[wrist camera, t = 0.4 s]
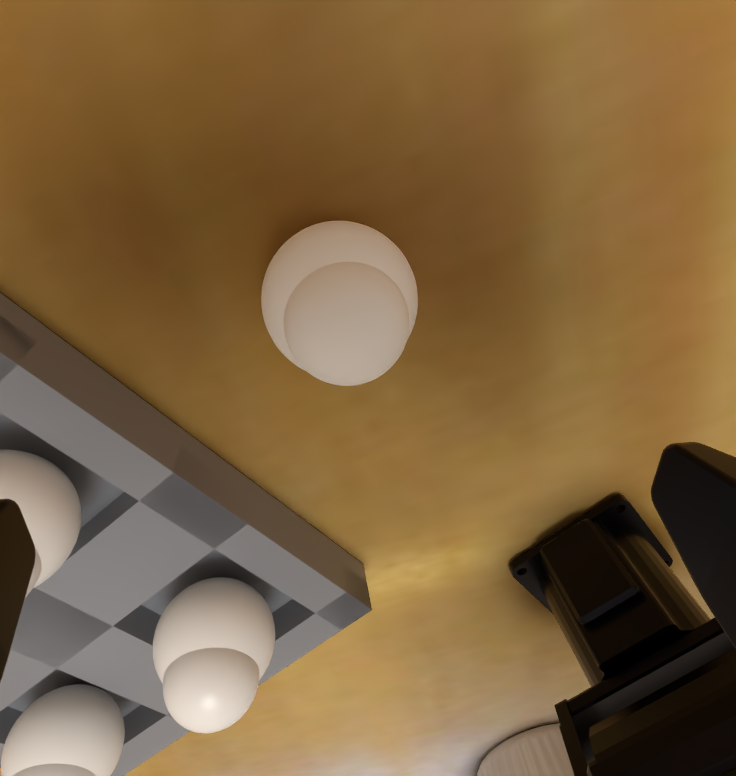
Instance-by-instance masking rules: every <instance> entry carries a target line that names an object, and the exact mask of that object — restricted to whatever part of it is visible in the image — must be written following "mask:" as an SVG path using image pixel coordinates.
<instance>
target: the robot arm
mask: <svg viewBox="0 0 736 776" xmlns="http://www.w3.org/2000/svg"><path fill="white" fill-rule="evenodd" d="M651 497H652V501H653V504H654V506H655V508H656V510H657V512H658V514H659V516H660V518H661V520H662V522H663V524H664V525H665V527H666V529H667V531H668V533H669V535H670V537H671V539H672V541H673V543H674V545H675V547H676V549H677V550H678V552H679V554H680V556H681V558H682V560H683V562H684V564H685V566H686V568H687V570H688V572H689V573H690V575H691V577H692V579H693V581H694V583H695V585H696V586H697V588H698V590H699V592H700V594H701V596H702V597H703V599H704V600H705V602H706V604H707V605H708V607H709V608H710V610H711V612H712V613H713V615H714V616H715V618H713V619H710V618H709V617H708V616H707V614H706V613H705V612H704V611H703V609H702V608H701V607H700V606H699V604H698V603H697V602H696V601H695V599H694V598H693V597H692V596H691V594H690V593H689V592H688V590H687V589H686V588H685V587H684V585H683V584H682V583H681V582H680V580H679V579H678V578H677V577H676V575H675V574H674V573H673V572H672V570H671V569H670V568H669V567H670V566H671V564H672V562H673V560H672V558H671V557H670V556H669V554H668V553H667V552H666V550H665V549H664V548H663V546H662V545H661V544H660V542H659V541H658V540H657V538H656V537H655V536H654V534H653V533H652V532H651V530H650V529H649V528H648V526H647V525H646V524H645V522H644V521H643V520H642V518H641V517H640V516H639V514H638V513H637V512H636V510H635V509H634V508H633V506H632V505H631V504H630V502H629V501H628V500H627V499H626V497H624V496H623V495H615V496H613V497H611V498H610V499H608V500H607V501H605V502H604V503H602V504H600V505H599V506H597V507H596V508H594V509H593V510H591V511H590V512H588V513H587V514H585V515H583V516H582V517H580V518H579V519H577V520H576V521H574V522H573V523H571V524H569V525H568V526H566V527H565V528H563V529H562V530H560V531H559V532H557V533H556V534H554V535H552V536H551V537H549V538H548V539H546V540H545V541H543V542H542V543H540V544H538V545H537V546H535V547H534V548H532V549H531V550H529V551H528V552H526V553H525V554H523V555H521V556H520V557H518V558H517V559H515V560H514V561H513V562H511V564H510V565H509V569H510V571H511V573H512V575H513V577H514V578H515V579H516V580H517V581H518V582H519V583H520V584H522V585H523V586H524V587H525V588H526V589H527V590H528V591H529V592H530V593H531V594H532V595H533V596H535V597H536V598H537V599H538V600H539V601H540V602H541V603H542V604H543V605H544V606H545V607H546V608H548V609H549V610H550V611H551V612H552V613H553V614H554V615H555V617H556V619H557V621H558V623H559V625H560V627H561V629H562V631H563V633H564V635H565V637H566V639H567V640H568V642H569V644H570V646H571V648H572V650H573V652H574V654H575V656H576V658H577V660H578V662H579V664H580V666H581V667H582V669H583V671H584V673H585V675H586V677H587V679H588V681H589V683H590V685H591V688H589V689H587V690H585V691H584V692H582V693H580V694H578V695H577V696H575V697H573V698H571V699H570V700H567V699H564V700H563V701H561V702H559V703H557V704H556V705H555V709H556V712H557V715H558V718H559V721H560V724H561V725H559V728H560V732H561V735H562V738H563V741H564V744H565V747H566V751H567V754H568V757H569V760H570V763H571V766H572V770H573V773H574V776H736V457H733V456H731V455H728V454H726V453H723V452H721V451H718V450H716V449H713V448H711V447H708V446H706V445H703V444H701V443H697V442H686V443H674V444H670V445H668V446H667V447H666V448H665V449H664V450H663V453H662V455H661V458H660V462H659V465H658V468H657V471H656V474H655V477H654V480H653V483H652V487H651ZM35 557H36V554H35V546H34V542H33V540H32V537H31V535H30V532H29V530H28V527H27V525H26V522H25V520H24V517H23V515H22V512H21V510H20V508H19V506H18V504H17V503H16V502H15V501H13V500H11V499H0V682H1V680H2V677H3V674H4V670H5V667H6V664H7V661H8V657H9V654H10V650H11V647H12V643H13V639H14V636H15V632H16V629H17V625H18V622H19V618H20V614H21V611H22V607H23V604H24V600H25V596H26V593H27V589H28V586H29V582H30V578H31V575H32V571H33V568H34V564H35Z"/></svg>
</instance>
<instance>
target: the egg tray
mask: <svg viewBox="0 0 736 776" xmlns="http://www.w3.org/2000/svg"><path fill="white" fill-rule="evenodd" d="M0 499H11V500H13V501H15V502H16V503H17V504H18V506H19V508H20V510H21V512H22V515H23V517H24V520H25V522H26V525H27V527H28V530H29V532H30V535H31V537H32V540H33V542H34V546H35V554H36V557H35V564H34V568H33V571H32V575H31V578H30V582H29V586H28V589H27V593H26V596H25V600H24V604H23V607H22V611H21V614H20V618H19V622H18V625H17V629H16V632H15V636H14V639H13V643H12V647H11V650H10V654H9V657H8V661H7V664H6V667H5V670H4V674H3V677H2V680H1V682H0V768H1V775H2V776H123V775H125V774H126V773H128V772H129V771H131V770H132V769H134V768H135V767H137V766H138V765H140V764H141V763H143V762H144V761H146V760H147V759H149V758H150V757H152V756H153V755H155V754H156V753H158V752H159V751H161V750H162V749H164V748H165V747H167V746H168V745H170V744H171V743H173V742H174V741H176V740H177V739H179V738H180V737H182V736H183V735H185V734H186V733H188V732H189V731H193V732H197V733H213V732H217V731H220V730H223V729H225V728H227V727H229V726H231V725H232V724H234V723H235V722H236V721H238V720H239V719H240V718H241V717H242V716H243V715H244V714H245V712H246V711H247V710H248V708H249V707H250V705H251V703H252V702H253V700H254V698H255V695H256V692H257V689H258V685H260V684H261V683H263V682H264V681H266V680H267V679H269V678H270V677H272V676H273V675H275V674H276V673H278V672H279V671H281V670H282V669H284V668H285V667H287V666H288V665H290V664H291V663H293V662H294V661H296V660H297V659H299V658H300V657H302V656H303V655H305V654H306V653H308V652H309V651H311V650H312V649H314V648H315V647H317V646H318V645H320V644H321V643H323V642H324V641H326V640H327V639H329V638H330V637H332V636H333V635H335V634H336V633H338V632H339V631H341V630H342V629H344V628H345V627H347V626H348V625H350V624H351V623H353V622H354V621H356V620H357V619H359V618H360V617H362V616H363V615H365V614H366V613H368V612H369V611H371V610H372V608H371V603H370V597H369V592H368V587H367V582H366V576H365V571H364V566H363V564H362V563H361V562H359V561H358V560H357V559H355V558H354V557H353V556H351V555H350V554H349V553H347V552H346V551H345V550H343V549H342V548H341V547H339V546H338V545H337V544H335V543H334V542H333V541H331V540H330V539H329V538H327V537H326V536H325V535H323V534H322V533H321V532H319V531H318V530H317V529H315V528H314V527H313V526H311V525H310V524H309V523H307V522H306V521H305V520H303V519H302V518H301V517H299V516H298V515H297V514H295V513H294V512H293V511H291V510H290V509H289V508H287V507H286V506H285V505H283V504H282V503H281V502H279V501H278V500H277V499H275V498H274V497H273V496H271V495H270V494H269V493H267V492H266V491H265V490H263V489H262V488H261V487H259V486H258V485H257V484H255V483H254V482H253V481H251V480H250V479H249V478H247V477H246V476H245V475H243V474H242V473H241V472H239V471H238V470H237V469H235V468H234V467H232V466H231V465H230V464H228V463H227V462H226V461H224V460H223V459H222V458H220V457H219V456H218V455H216V454H215V453H214V452H212V451H211V450H210V449H208V448H207V447H206V446H204V445H203V444H202V443H200V442H199V441H198V440H196V439H195V438H194V437H192V436H191V435H190V434H188V433H187V432H186V431H184V430H183V429H182V428H180V427H179V426H178V425H176V424H175V423H174V422H172V421H171V420H170V419H168V418H167V417H166V416H164V415H163V414H162V413H160V412H159V411H158V410H156V409H155V408H154V407H152V406H151V405H150V404H148V403H147V402H146V401H144V400H143V399H142V398H140V397H139V396H138V395H136V394H135V393H134V392H132V391H131V390H130V389H128V388H127V387H126V386H124V385H123V384H122V383H120V382H119V381H118V380H116V379H115V378H114V377H112V376H111V375H110V374H108V373H107V372H106V371H104V370H103V369H102V368H100V367H99V366H98V365H96V364H95V363H93V362H92V361H91V360H89V359H88V358H87V357H85V356H84V355H83V354H81V353H80V352H79V351H77V350H76V349H75V348H73V347H72V346H71V345H69V344H68V343H67V342H65V341H64V340H63V339H61V338H60V337H59V336H57V335H56V334H55V333H53V332H52V331H51V330H49V329H48V328H47V327H45V326H44V325H43V324H41V323H40V322H39V321H37V320H36V319H35V318H33V317H32V316H31V315H29V314H28V313H27V312H25V311H24V310H23V309H21V308H20V307H19V306H17V305H16V304H15V303H13V302H12V301H11V300H9V299H8V298H7V297H5V296H4V295H3V294H1V293H0Z"/></svg>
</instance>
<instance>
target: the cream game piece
mask: <svg viewBox="0 0 736 776" xmlns="http://www.w3.org/2000/svg"><path fill="white" fill-rule="evenodd" d="M261 305H262V313H263V318H264V322H265V325H266V328H267V331H268V332H269V334H270V336H271V338H272V340H273V342H274V343H275V345H276V346H277V348H278V349H279V350H280V351H281V353H282V354H283V355H284V356H285V357H286V358H287V359H289V360H290V361H291V362H292V363H293V364H295V365H296V366H298V367H299V368H301V369H303V370H305V371H307V372H308V373H309V374H311V375H312V376H314V377H315V378H317V379H319V380H321V381H324V382H327V383H330V384H334V385H339V386H354V385H360V384H364V383H367V382H370V381H372V380H374V379H376V378H378V377H380V376H381V375H383V374H384V373H386V372H387V371H388V370H389V369H390V368H391V367H392V366H393V365H394V364H395V362H396V361H397V360H398V358H399V357H400V355H401V354H402V352H403V350H404V347H405V345H406V342H407V340H408V338H409V336H410V334H411V332H412V329H413V327H414V324H415V320H416V315H417V309H418V293H417V286H416V280H415V277H414V274H413V271H412V269H411V267H410V265H409V263H408V261H407V259H406V257H405V256H404V255H403V253H402V252H401V250H400V249H399V248H398V247H397V246H396V245H395V244H394V243H393V242H392V241H391V240H390V239H389V238H387V237H386V236H385V235H384V234H382V233H380V232H379V231H377V230H375V229H373V228H371V227H369V226H366V225H363V224H359V223H356V222H350V221H327V222H322V223H318V224H314V225H312V226H309V227H307V228H305V229H303V230H301V231H299V232H298V233H296V234H295V235H293V236H292V237H291V238H290V239H288V240H287V241H286V242H285V243H284V244H283V245H282V246H281V247H280V248H279V250H278V251H277V253H276V254H275V255H274V257H273V258H272V260H271V262H270V264H269V266H268V268H267V271H266V273H265V277H264V281H263V285H262V293H261Z"/></svg>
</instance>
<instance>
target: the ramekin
mask: <svg viewBox="0 0 736 776" xmlns="http://www.w3.org/2000/svg"><path fill="white" fill-rule="evenodd" d="M559 725H561V724H560V723H557V724H550V725H544V726H540V727H537V728H533V729H530V730H527V731H525V732H522V733H519V734H517V735H515V736H513V737H511V738H509V739H507V740H505V741H504V742H502V743H501V744H499V745H498V746H496V747H495V748H494V749H493V750H492V751H490V752H489V754H488V755H487V756H486V757H485V758H484V760H483V761H482V763H481V765H480V767H479V770H478V773H477V776H574V773H573V770H572V766H571V763H570V760H569V757H568V754H567V751H566V747H565V744H564V741H563V738H562V735H561V732H560V728H559Z"/></svg>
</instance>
